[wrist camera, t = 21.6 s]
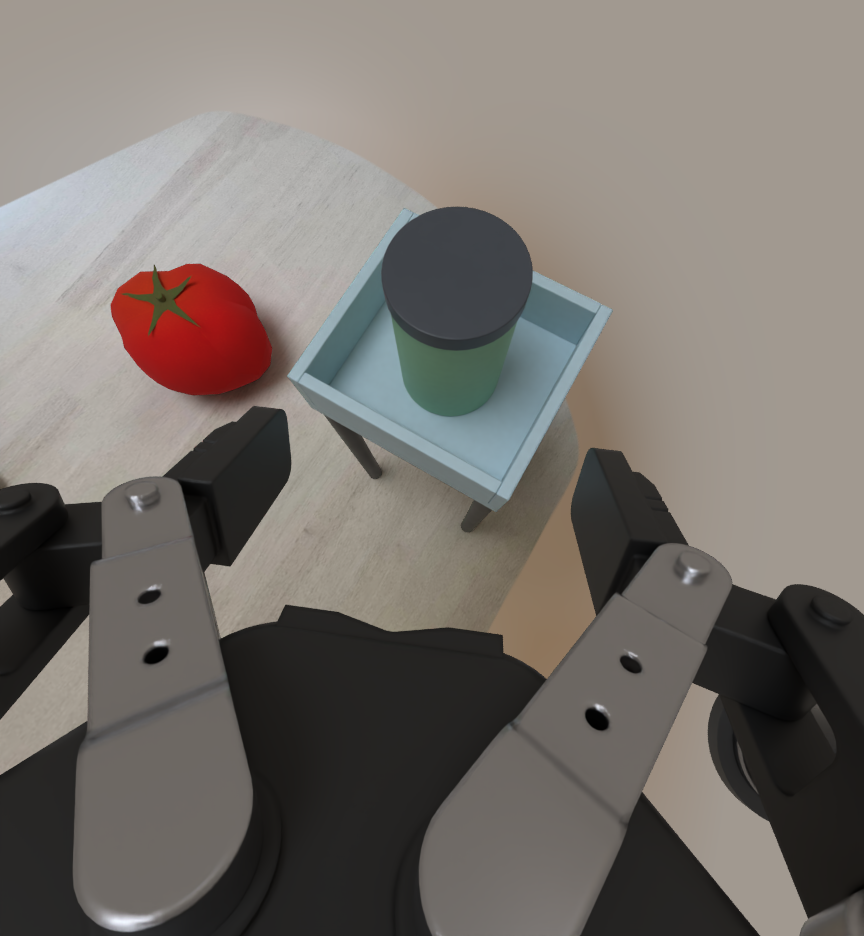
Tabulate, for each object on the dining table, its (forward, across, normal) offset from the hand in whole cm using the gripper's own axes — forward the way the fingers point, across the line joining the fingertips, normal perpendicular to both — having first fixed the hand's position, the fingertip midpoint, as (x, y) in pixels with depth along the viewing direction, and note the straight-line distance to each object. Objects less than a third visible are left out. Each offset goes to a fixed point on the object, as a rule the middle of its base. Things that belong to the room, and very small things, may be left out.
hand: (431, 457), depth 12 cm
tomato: (+31, +23, +10) cm, 40 cm away
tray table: (+25, 0, +15) cm, 30 cm away
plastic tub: (+12, 0, +2) cm, 12 cm away
